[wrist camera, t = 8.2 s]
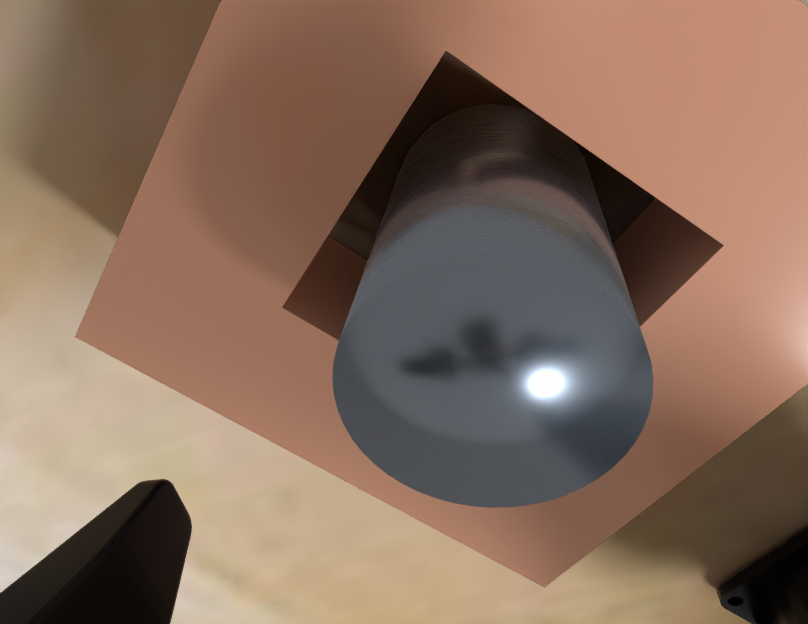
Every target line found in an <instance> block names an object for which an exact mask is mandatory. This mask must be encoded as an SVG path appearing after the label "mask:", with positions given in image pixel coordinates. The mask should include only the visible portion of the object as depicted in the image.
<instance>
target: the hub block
mask: <svg viewBox="0 0 808 624" xmlns="http://www.w3.org/2000/svg"><path fill="white" fill-rule="evenodd" d="M445 51H448V52H449V53H450V54H452V55H453V56H455V57H456V58H458V59H459V60H460V61H462V62H463V63H465V64H466V65H468V66H469V67H470V68H472V69H473V70H475V71H476V72H478V73H479V74H480V75H482V76H483V77H485V78H486V79H488V80H489V81H490V82H492V83H493V84H495V85H496V86H497V87H499V88H500V89H502V90H503V91H505V92H506V93H507V94H509V95H510V96H512V97H513V98H515V99H516V100H517V101H519V102H520V103H522V104H523V105H525V106H526V107H527V108H529V109H530V110H532V111H533V112H535V113H536V114H537V115H539V116H540V117H542V118H543V119H545V120H546V121H547V122H549V123H550V124H552V125H553V126H555V127H556V128H557V129H559V130H560V131H562V132H563V133H564V134H566V135H567V136H569V137H570V138H572V139H573V140H574V141H576V142H577V143H579V144H580V145H582V146H583V147H584V148H586V149H587V150H589V151H590V152H592V153H593V154H594V155H596V156H597V157H599V158H600V159H602V160H603V161H604V162H606V163H607V164H609V165H610V166H612V167H613V168H614V169H616V170H617V171H619V172H620V173H621V174H623V175H624V176H626V177H627V178H629V179H630V180H631V181H633V182H634V183H636V184H637V185H639V186H640V187H641V188H643V189H644V190H646V191H647V192H649V193H650V194H651V195H653V196H654V197H656V198H655V199H654V200H653V201H652V202H651V203H650V204H649V205H648V207H647V208H646V209H645V210H644V211H643V212H642V213H641V214H640V215H639V216H638V217H637V218H636V220H635V221H634V222H633V223H632V224H631V225H630V226H629V227H628V228H627V229H626V230H625V231H624V233H623V234H622V235H621V236H620V237H619V238H618V239H617V240H616V241H615V242H614V243H613V246H614V249H615V252H616V255H617V258H618V261H619V265H620V268H621V271H622V274H623V277H624V280H625V283H626V286H627V289H628V292H629V295H630V298H631V301H632V304H633V307H634V310H635V313H636V316H637V319H638V322H639V325H640V328H641V331H642V334H643V337H644V340H645V343H646V347H647V350H648V353H649V356H650V359H651V364H652V371H653V379H654V381H653V398H652V403H651V407H650V412H649V415H648V418H647V420H646V423H645V425H644V428H643V430H642V432H641V433H640V435H639V437H638V438H637V440H636V442H635V444H634V445H633V446H632V447H631V449H630V450H629V451H628V452H627V454H626V455H625V456H624V457H623V458H622V459H621V460H620V461H619V462H618V463H617V464H616V465H615V466H614V467H613V468H612V469H611V470H609V471H608V472H606V473H605V474H604V475H602V476H601V477H600V478H598V479H597V480H595V481H594V482H592V483H590V484H588V485H587V486H585V487H583V488H581V489H579V490H577V491H574V492H572V493H570V494H567V495H565V496H562V497H559V498H556V499H553V500H550V501H546V502H542V503H537V504H532V505H527V506H517V507H502V508H489V507H475V506H468V505H462V504H456V503H451V502H448V501H444V500H440V499H436V498H434V497H431V496H428V495H426V494H423V493H420V492H418V491H416V490H414V489H412V488H410V487H408V486H406V485H403V484H402V483H400V482H399V481H397V480H395V479H394V478H392V477H391V476H389V475H388V474H386V473H385V472H384V471H382V470H381V469H380V468H379V467H377V466H376V465H375V464H374V463H373V462H372V461H371V460H370V459H369V458H368V457H367V456H366V455H365V454H364V453H363V452H362V451H361V450H360V449H359V447H358V446H357V445H356V444H355V442H354V441H353V440H352V438H351V436H350V435H349V433H348V431H347V430H346V428H345V426H344V424H343V422H342V420H341V417H340V415H339V412H338V410H337V406H336V402H335V398H334V392H333V382H332V375H333V362H334V358H335V354H336V349H337V345H338V343H339V340H340V337H341V334H342V331H343V329H344V326H345V323H346V320H347V317H348V314H349V312H350V309H351V306H352V303H353V300H354V298H355V295H356V292H357V289H358V286H359V283H360V281H361V278H362V275H363V272H364V269H365V266H366V264H367V261H368V260H366V259H364V258H363V257H361V256H360V255H358V254H356V253H355V252H353V251H351V250H350V249H348V248H346V247H345V246H343V245H342V244H340V243H338V242H337V241H335V240H333V239H332V238H330V237H329V236H328V235H329V233H330V231H331V230H332V228H333V227H334V225H335V224H336V222H337V220H338V219H339V217H340V216H341V214H342V213H343V211H344V209H345V208H346V206H347V205H348V203H349V202H350V200H351V199H352V197H353V195H354V194H355V192H356V191H357V189H358V188H359V186H360V184H361V183H362V181H363V180H364V178H365V177H366V175H367V173H368V172H369V170H370V169H371V167H372V166H373V164H374V162H375V161H376V159H377V158H378V156H379V155H380V153H381V151H382V150H383V148H384V147H385V145H386V144H387V142H388V140H389V139H390V137H391V136H392V134H393V133H394V131H395V129H396V128H397V126H398V125H399V123H400V122H401V120H402V118H403V117H404V115H405V114H406V112H407V111H408V109H409V108H410V106H411V104H412V103H413V101H414V100H415V98H416V97H417V95H418V93H419V92H420V90H421V89H422V87H423V86H424V84H425V82H426V81H427V79H428V78H429V76H430V75H431V73H432V71H433V70H434V68H435V67H436V65H437V64H438V62H439V60H440V59H441V57H442V56H443V54H444V53H445ZM75 337H76V338H78V339H80V340H82V341H84V342H86V343H88V344H90V345H91V346H93V347H95V348H97V349H99V350H101V351H103V352H105V353H106V354H108V355H110V356H112V357H114V358H116V359H118V360H120V361H121V362H123V363H125V364H127V365H129V366H131V367H133V368H135V369H136V370H138V371H140V372H142V373H144V374H146V375H148V376H150V377H151V378H153V379H155V380H157V381H159V382H161V383H163V384H164V385H166V386H168V387H170V388H172V389H174V390H176V391H178V392H179V393H181V394H183V395H185V396H187V397H189V398H191V399H193V400H194V401H196V402H198V403H200V404H202V405H204V406H206V407H208V408H209V409H211V410H213V411H215V412H217V413H219V414H221V415H223V416H224V417H226V418H228V419H230V420H232V421H234V422H236V423H238V424H239V425H241V426H243V427H245V428H247V429H249V430H251V431H252V432H254V433H256V434H258V435H260V436H262V437H264V438H266V439H267V440H269V441H271V442H273V443H275V444H277V445H279V446H281V447H282V448H284V449H286V450H288V451H290V452H292V453H294V454H296V455H297V456H299V457H301V458H303V459H305V460H307V461H309V462H311V463H312V464H314V465H316V466H318V467H320V468H322V469H324V470H326V471H327V472H329V473H331V474H333V475H335V476H337V477H339V478H340V479H342V480H344V481H346V482H348V483H350V484H352V485H354V486H355V487H357V488H359V489H361V490H363V491H365V492H367V493H369V494H370V495H372V496H374V497H376V498H378V499H380V500H382V501H384V502H385V503H387V504H389V505H391V506H393V507H395V508H397V509H399V510H400V511H402V512H404V513H406V514H408V515H410V516H412V517H414V518H415V519H417V520H419V521H421V522H423V523H425V524H427V525H429V526H430V527H432V528H434V529H436V530H438V531H440V532H442V533H443V534H445V535H447V536H449V537H451V538H453V539H455V540H457V541H458V542H460V543H462V544H464V545H466V546H468V547H470V548H472V549H473V550H475V551H477V552H479V553H481V554H483V555H485V556H487V557H488V558H490V559H492V560H494V561H496V562H498V563H500V564H502V565H503V566H505V567H507V568H509V569H511V570H513V571H515V572H517V573H518V574H520V575H522V576H524V577H526V578H528V579H530V580H531V581H533V582H535V583H537V584H539V585H541V586H543V587H546V586H547V585H548V584H550V583H551V582H552V581H553V580H555V579H556V578H557V577H559V576H560V575H561V574H562V573H564V572H565V571H566V570H568V569H569V568H570V567H572V566H573V565H574V564H575V563H577V562H578V561H579V560H581V559H582V558H583V557H584V556H586V555H587V554H588V553H590V552H591V551H592V550H593V549H595V548H596V547H597V546H599V545H600V544H601V543H603V542H604V541H605V540H606V539H608V538H609V537H610V536H612V535H613V534H614V533H615V532H617V531H618V530H619V529H621V528H622V527H623V526H625V525H626V524H627V523H628V522H630V521H631V520H632V519H634V518H635V517H636V516H637V515H639V514H640V513H641V512H643V511H644V510H645V509H646V508H648V507H649V506H650V505H652V504H653V503H654V502H656V501H657V500H658V499H659V498H661V497H662V496H663V495H665V494H666V493H667V492H668V491H670V490H671V489H672V488H674V487H675V486H676V485H677V484H679V483H680V482H681V481H683V480H684V479H685V478H687V477H688V476H689V475H690V474H692V473H693V472H694V471H696V470H697V469H698V468H699V467H701V466H702V465H703V464H705V463H706V462H707V461H708V460H710V459H711V458H712V457H714V456H715V455H716V454H718V453H719V452H720V451H721V450H723V449H724V448H725V447H727V446H728V445H729V444H730V443H732V442H733V441H734V440H736V439H737V438H738V437H739V436H741V435H742V434H743V433H745V432H746V431H747V430H749V429H750V428H751V427H752V426H754V425H755V424H756V423H758V422H759V421H760V420H761V419H763V418H764V417H765V416H767V415H768V414H769V413H770V412H772V411H773V410H774V409H776V408H777V407H778V406H780V405H781V404H782V403H783V402H785V401H786V400H787V399H789V398H790V397H791V396H792V395H794V394H795V393H796V392H798V391H799V390H800V389H801V388H803V387H804V386H805V385H807V384H808V7H807V6H806V5H805V4H804V3H802V2H801V1H800V0H221V1H220V3H219V6H218V8H217V10H216V13H215V15H214V17H213V20H212V22H211V24H210V27H209V29H208V31H207V33H206V36H205V38H204V40H203V43H202V45H201V47H200V50H199V52H198V54H197V57H196V59H195V61H194V63H193V66H192V68H191V70H190V73H189V75H188V77H187V80H186V82H185V84H184V86H183V89H182V91H181V93H180V96H179V98H178V100H177V103H176V105H175V107H174V110H173V112H172V114H171V116H170V119H169V121H168V123H167V126H166V128H165V130H164V133H163V135H162V137H161V140H160V142H159V144H158V146H157V149H156V151H155V153H154V156H153V158H152V160H151V163H150V165H149V167H148V170H147V172H146V174H145V176H144V179H143V181H142V183H141V186H140V188H139V190H138V193H137V195H136V197H135V199H134V202H133V204H132V206H131V209H130V211H129V213H128V216H127V218H126V220H125V223H124V225H123V227H122V229H121V232H120V234H119V236H118V239H117V241H116V243H115V246H114V248H113V250H112V253H111V255H110V257H109V259H108V262H107V264H106V266H105V269H104V271H103V273H102V276H101V278H100V280H99V283H98V285H97V287H96V289H95V292H94V294H93V296H92V299H91V301H90V303H89V306H88V308H87V310H86V313H85V315H84V317H83V319H82V322H81V324H80V326H79V329H78V331H77V333H76V336H75Z"/></svg>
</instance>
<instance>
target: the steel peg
mask: <svg viewBox="0 0 808 624" xmlns="http://www.w3.org/2000/svg"><path fill="white" fill-rule="evenodd" d="M653 381H654V379H653V371H652V364H651V359H650V356H649V353H648V350H647V347H646V343H645V340H644V337H643V334H642V331H641V328H640V325H639V322H638V319H637V316H636V313H635V310H634V307H633V304H632V301H631V298H630V295H629V292H628V289H627V286H626V283H625V280H624V277H623V274H622V271H621V268H620V265H619V261H618V258H617V255H616V252H615V249H614V246H613V243H612V240H611V237H610V234H609V231H608V228H607V225H606V222H605V219H604V216H603V213H602V210H601V207H600V204H599V201H598V198H597V195H596V192H595V189H594V186H593V183H592V180H591V177H590V174H589V170H588V167H587V164H586V162H585V160H584V157H583V155H582V153H581V151H580V150H579V148H578V147H577V145H576V144H575V142H574V141H573V140H572V138H570V137H569V136H567V135H566V134H564V133H563V132H562V131H560V130H559V129H557V128H556V127H555V126H553V125H552V124H550V123H549V122H547V121H546V120H545V119H543V118H542V117H540V116H539V115H537V114H536V113H535V112H533V111H532V110H530V109H526V108H522V107H519V106H514V105H507V104H485V105H476V106H472V107H468V108H464V109H461V110H459V111H456V112H454V113H451V114H449V115H447V116H446V117H444V118H442V119H440V120H439V121H437V122H436V123H434V124H433V125H432V126H430V127H429V128H428V129H427V130H426V131H425V132H424V133H423V134H422V135H421V136H420V137H419V138H418V139H417V140H416V141H415V143H414V144H413V145H412V147H411V148H410V150H409V151H408V153H407V155H406V157H405V158H404V161H403V163H402V166H401V168H400V171H399V173H398V176H397V179H396V182H395V185H394V187H393V190H392V193H391V196H390V199H389V202H388V204H387V207H386V210H385V213H384V216H383V219H382V221H381V224H380V227H379V230H378V233H377V235H376V238H375V241H374V244H373V247H372V250H371V252H370V255H369V258H368V261H367V264H366V266H365V269H364V272H363V275H362V278H361V281H360V283H359V286H358V289H357V292H356V295H355V298H354V300H353V303H352V306H351V309H350V312H349V314H348V317H347V320H346V323H345V326H344V329H343V331H342V334H341V337H340V340H339V343H338V345H337V349H336V354H335V358H334V362H333V375H332V382H333V392H334V398H335V402H336V406H337V410H338V412H339V415H340V417H341V420H342V422H343V424H344V426H345V428H346V430H347V431H348V433H349V435H350V436H351V438H352V440H353V441H354V442H355V444H356V445H357V446H358V447H359V449H360V450H361V451H362V452H363V453H364V454H365V455H366V456H367V457H368V458H369V459H370V460H371V461H372V462H373V463H374V464H375V465H376V466H377V467H379V468H380V469H381V470H382V471H384V472H385V473H386V474H388V475H389V476H391V477H392V478H394V479H395V480H397V481H399V482H400V483H402V484H403V485H406V486H408V487H410V488H412V489H414V490H416V491H418V492H420V493H423V494H426V495H428V496H431V497H434V498H436V499H440V500H444V501H448V502H451V503H456V504H462V505H468V506H475V507H489V508H502V507H517V506H527V505H532V504H537V503H542V502H546V501H550V500H553V499H556V498H559V497H562V496H565V495H567V494H570V493H572V492H574V491H577V490H579V489H581V488H583V487H585V486H587V485H588V484H590V483H592V482H594V481H595V480H597V479H598V478H600V477H601V476H602V475H604V474H605V473H606V472H608V471H609V470H611V469H612V468H613V467H614V466H615V465H616V464H617V463H618V462H619V461H620V460H621V459H622V458H623V457H624V456H625V455H626V454H627V452H628V451H629V450H630V449H631V447H632V446H633V445H634V444H635V442H636V440H637V438H638V437H639V435H640V433H641V432H642V430H643V428H644V425H645V423H646V420H647V418H648V415H649V412H650V407H651V403H652V398H653Z"/></svg>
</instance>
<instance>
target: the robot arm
mask: <svg viewBox="0 0 808 624" xmlns="http://www.w3.org/2000/svg"><path fill="white" fill-rule="evenodd" d="M191 530H192V525H191V519H190V516H189V514H188V512H187V510H186V508H185V506H184V504H183V502H182V501H181V499H180V497H179V495H178V493H177V491H176V489H175V487H174V486H173V484H172V483H171V482H170V481H168V480H165V479H159V480H148V481H143V482H140V483H138V484H137V485H135V486H134V487H133V488H132V489H130V490H129V491H128V492H127V493H125V494H124V495H123V496H122V497H120V498H119V499H118V500H117V501H115V502H114V503H113V504H112V505H110V506H109V507H108V508H107V509H105V510H104V511H103V512H101V513H100V514H99V515H98V516H96V517H95V518H94V519H93V520H91V521H90V522H89V523H88V524H86V525H85V526H84V527H83V528H81V529H80V530H79V531H78V532H76V533H75V534H74V535H73V536H71V537H70V538H69V539H68V540H66V541H65V542H64V543H63V544H61V545H60V546H59V547H58V548H56V549H55V550H54V551H53V552H51V553H50V554H49V555H48V556H46V557H45V558H44V559H42V560H41V561H40V562H39V563H37V564H36V565H35V566H34V567H32V568H31V569H30V570H29V571H27V572H26V573H25V574H24V575H22V576H21V577H20V578H19V579H17V580H16V581H15V582H14V583H12V584H11V585H10V586H9V587H7V588H6V589H5V590H4V591H2V592H1V593H0V624H170V622H171V618H172V614H173V610H174V606H175V601H176V597H177V593H178V588H179V584H180V580H181V576H182V571H183V567H184V563H185V558H186V554H187V550H188V545H189V541H190V537H191ZM717 593H718V596H719V599H720V603H721V605H722V606H723V607H724V608H725V609H727V610H729V611H731V612H732V613H734V614H736V615H738V616H739V617H741V618H743V619H745V620H747V621H748V622H750V623H752V624H808V530H806V531H805V532H803V533H801V534H800V535H798V536H797V537H795V538H794V539H792V540H791V541H789V542H787V543H786V544H784V545H783V546H781V547H780V548H778V549H777V550H775V551H774V552H772V553H770V554H769V555H767V556H766V557H764V558H763V559H761V560H760V561H758V562H757V563H755V564H753V565H752V566H750V567H749V568H747V569H746V570H744V571H743V572H741V573H739V574H738V575H736V576H735V577H733V578H732V579H730V580H729V581H727V582H726V583H724V584H722V585H721V586H720V587H719V588H718V590H717Z"/></svg>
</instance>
